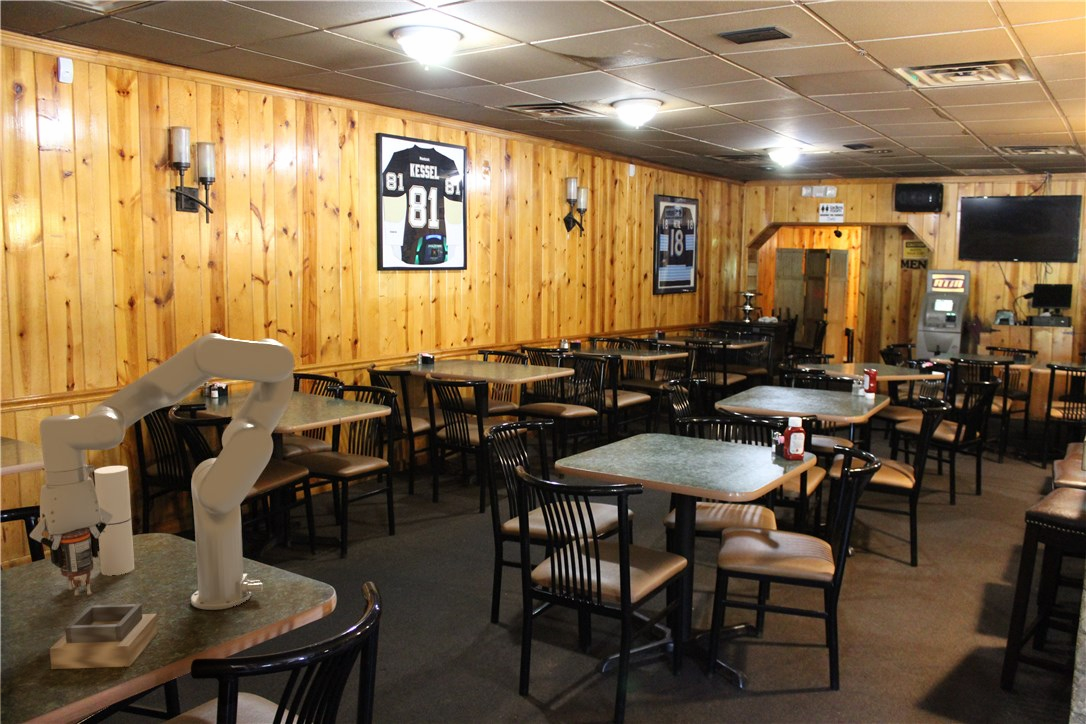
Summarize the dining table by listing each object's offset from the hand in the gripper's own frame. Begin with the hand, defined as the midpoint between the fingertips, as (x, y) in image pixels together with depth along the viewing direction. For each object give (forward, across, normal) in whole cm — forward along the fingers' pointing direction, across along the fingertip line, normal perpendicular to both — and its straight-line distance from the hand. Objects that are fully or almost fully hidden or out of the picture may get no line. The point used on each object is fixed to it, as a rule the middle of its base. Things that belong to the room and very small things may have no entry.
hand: (76, 560), depth 173 cm
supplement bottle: (+3, 0, 0) cm, 3 cm away
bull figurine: (+14, -6, -17) cm, 23 cm away
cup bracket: (+14, +2, +16) cm, 21 cm away
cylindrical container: (+14, -17, -24) cm, 33 cm away
